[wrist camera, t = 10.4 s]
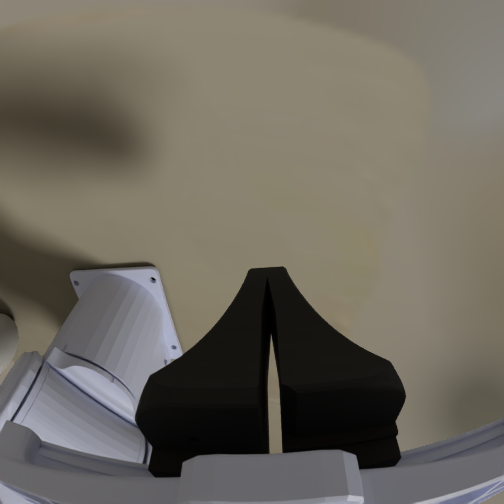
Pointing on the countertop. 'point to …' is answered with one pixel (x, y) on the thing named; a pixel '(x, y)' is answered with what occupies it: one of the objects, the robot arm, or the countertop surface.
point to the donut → (7, 340)
